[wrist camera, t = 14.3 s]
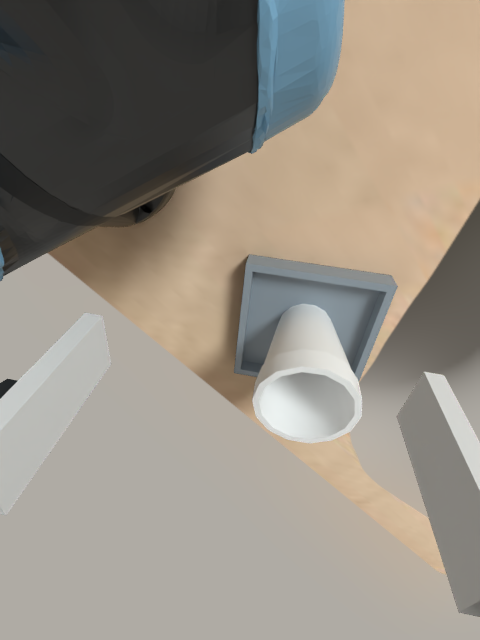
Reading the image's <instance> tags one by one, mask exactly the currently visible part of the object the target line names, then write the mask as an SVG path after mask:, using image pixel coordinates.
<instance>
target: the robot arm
mask: <svg viewBox="0 0 480 640" xmlns="http://www.w3.org/2000/svg"><path fill="white" fill-rule="evenodd" d="M343 20H344V0H0V281H1V280H2V279H3V276H4V275H6V274H8V273H10V272H12V271H13V270H16V269H17V268H19V267H21V266H23V265H25V264H27V263H29V262H31V261H32V260H34V259H36V258H38V257H40V256H42V255H44V254H46V253H48V252H50V251H51V250H53V249H55V248H57V247H59V246H61V245H63V244H65V243H67V242H69V241H71V240H73V239H75V238H77V237H79V236H80V235H82V234H84V233H86V232H88V231H90V230H92V229H94V228H96V227H127V226H131V225H135V224H138V223H140V222H143V221H145V220H146V219H148V218H149V217H151V216H152V215H154V214H155V213H157V212H158V211H159V210H161V209H162V208H163V207H164V206H165V205H166V203H167V202H168V201H169V200H170V198H171V196H172V195H173V193H174V191H175V189H176V188H177V187H179V186H181V185H183V184H185V183H187V182H189V181H191V180H193V179H195V178H197V177H199V176H201V175H203V174H205V173H207V172H209V171H211V170H213V169H215V168H217V167H219V166H221V165H223V164H225V163H227V162H229V161H231V160H233V159H235V158H237V157H239V156H241V155H243V154H245V153H247V152H248V153H251V154H252V153H254V152H256V151H257V149H259V148H261V147H262V145H263V143H264V141H266V140H268V139H270V138H271V137H273V136H275V135H277V134H278V133H280V132H282V131H284V130H285V129H287V128H289V127H291V126H292V125H294V124H296V123H298V122H299V121H301V120H303V119H305V118H306V117H308V116H309V115H310V114H312V113H313V111H315V110H316V108H317V107H318V106H319V105H320V103H321V101H322V100H323V98H324V97H325V96H326V94H327V93H328V92H329V90H330V88H331V86H332V83H333V81H334V78H335V75H336V72H337V67H338V63H339V58H340V52H341V44H342V35H343ZM110 365H111V360H110V354H109V348H108V342H107V337H106V331H105V325H104V319H103V316H102V315H97V314H91V313H84V314H83V315H82V316H81V317H80V318H79V319H78V320H77V321H76V322H75V323H74V324H73V325H72V326H71V327H70V328H69V330H67V332H66V333H65V334H64V335H63V336H62V337H61V338H60V339H59V340H58V341H57V342H56V343H55V344H54V345H53V346H52V347H51V348H50V349H49V350H48V351H47V352H46V353H45V354H44V355H43V356H42V357H41V358H40V359H39V360H38V361H37V362H36V363H35V364H34V365H33V366H32V367H31V368H30V369H29V370H28V371H27V372H26V373H25V374H24V375H23V376H22V377H21V378H20V379H19V380H18V381H16V380H11V379H6V380H5V381H3V382H1V383H0V514H2V515H7V513H8V512H9V510H10V509H11V508H12V506H13V505H14V503H15V502H16V500H17V499H18V498H19V496H20V495H21V493H22V492H23V490H24V489H25V487H26V486H27V485H28V483H29V482H30V480H31V479H32V477H33V476H34V475H35V473H36V472H37V470H38V469H39V467H40V466H41V464H42V463H43V461H44V460H45V459H46V457H47V456H48V454H49V453H50V451H51V450H52V449H53V447H54V446H55V444H56V443H57V441H58V440H59V439H60V437H61V435H62V434H63V433H64V431H65V430H66V428H67V427H68V426H69V424H70V423H71V421H72V420H73V418H74V417H75V415H76V414H77V413H78V411H79V410H80V408H81V407H82V405H83V404H84V403H85V401H86V400H87V398H88V397H89V395H90V394H91V392H92V391H93V390H94V388H95V387H96V385H97V384H98V382H99V381H100V379H101V378H102V377H103V375H104V374H105V372H106V371H107V369H108V368H109V367H110ZM397 419H398V422H399V425H400V428H401V431H402V435H403V438H404V441H405V444H406V447H407V451H408V454H409V457H410V460H411V463H412V466H413V469H414V473H415V476H416V479H417V482H418V485H419V488H420V491H421V494H422V498H423V501H424V504H425V507H426V511H427V513H428V517H429V520H430V523H431V526H432V530H433V533H434V536H435V539H436V542H437V545H438V549H439V552H440V555H441V558H442V561H443V564H444V567H445V571H446V574H447V577H448V580H449V583H450V586H451V589H452V593H453V596H454V599H455V602H456V605H457V609H458V611H459V613H464V614H469V615H473V616H478V617H480V442H479V440H478V438H477V436H476V435H475V433H474V431H473V429H472V427H471V425H470V423H469V421H468V419H467V418H466V416H465V414H464V412H463V410H462V408H461V406H460V404H459V403H458V401H457V399H456V397H455V395H454V393H453V391H452V390H451V388H450V386H449V384H448V382H447V380H446V378H445V376H444V375H439V374H434V373H428V372H424V373H423V374H422V376H421V378H420V379H419V381H418V383H417V384H416V386H415V387H414V389H413V390H412V392H411V394H410V395H409V397H408V399H407V400H406V402H405V403H404V405H403V407H402V408H401V410H400V412H399V413H398V415H397Z"/></svg>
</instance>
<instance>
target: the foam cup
mask: <svg viewBox="0 0 480 640" xmlns="http://www.w3.org/2000/svg"><path fill="white" fill-rule="evenodd" d="M252 401H253V406H254V410H255V415H256V417H257V418H258V419H259V420H260V421H261V423H262V424H263V425H264V426H265V427H266V428H267V429H268V430H269V431H271V432H273V433H275V434H277V435H279V436H281V437H283V438H285V439H287V440H293V441H299V442H305V443H316V442H324V441H331V440H334V439H336V438H338V437H340V436H342V435H344V434H346V433H348V432H350V431H351V430H352V429H353V427H354V426H355V425H356V423H357V422H358V420H359V419H360V418H361V417H362V396H361V391H360V387H359V382H358V379H357V377H356V376H355V374H354V373H353V371H352V370H351V367H350V365H349V362H348V360H347V358H346V355H345V353H344V350H343V348H342V345H341V343H340V340H339V338H338V336H337V333H336V331H335V328H334V326H333V323H332V322H331V319H330V318H329V316H328V315H327V313H326V312H325V311H324V310H322V309H321V308H319V307H317V306H315V305H309V304H300V305H296V306H293V307H290V308H289V309H288V310H287V311H285V312H284V313H283V314H282V316H281V318H280V321H279V323H278V326H277V328H276V331H275V334H274V337H273V340H272V343H271V345H270V348H269V351H268V354H267V357H266V359H265V362H264V365H263V366H262V367H261V370H260V372H259V374H258V377H257V379H256V381H255V387H254V393H253V399H252Z"/></svg>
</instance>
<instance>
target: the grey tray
mask: <svg viewBox="0 0 480 640" xmlns="http://www.w3.org/2000/svg"><path fill="white" fill-rule="evenodd" d="M397 287H398V286H397V284H396V283H395V281H394V279H393V277H392V276H391V275H384V274H378V273H371V272H364V271H357V270H351V269H344V268H337V267H330V266H324V265H317V264H310V263H303V262H297V261H290V260H283V259H277V258H270V257H263V256H256V255H250V254H249V257H248V259H247V262H246V268H245V277H244V286H243V295H242V304H241V313H240V322H239V332H238V341H237V350H236V359H235V368H234V373H237V374H243V375H248V376H254V377H258V374H259V372H260V370H261V367H262V366H263V365H264V362H265V359H266V357H267V354H268V351H269V348H270V345H271V343H272V340H273V337H274V334H275V331H276V328H277V326H278V323H279V321H280V318H281V316H282V314H283V313H284V312H285V311H287V310H288V309H289V308H290V307H293V306H296V305H300V304H309V305H315V306H317V307H319V308H321V309H322V310H324V311H325V312H326V313H327V315H328V316H329V318H330V319H331V322H332V323H333V326H334V328H335V331H336V333H337V336H338V338H339V340H340V343H341V345H342V348H343V350H344V353H345V355H346V358H347V360H348V362H349V365H350V367H351V370H352V371H353V373H354V374H355V376H356V377H357V379H358V382H359V380H360V377H361V375H362V372H363V370H364V367H365V365H366V363H367V360H368V358H369V355H370V353H371V350H372V348H373V345H374V343H375V341H376V338H377V336H378V333H379V331H380V328H381V326H382V323H383V321H384V318H385V316H386V314H387V311H388V309H389V306H390V304H391V301H392V299H393V296H394V294H395V291H396V289H397Z"/></svg>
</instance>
